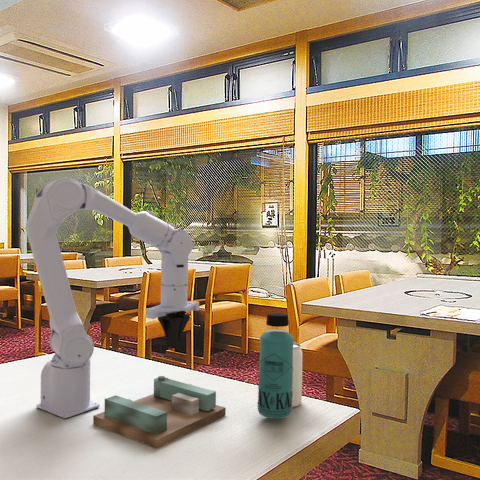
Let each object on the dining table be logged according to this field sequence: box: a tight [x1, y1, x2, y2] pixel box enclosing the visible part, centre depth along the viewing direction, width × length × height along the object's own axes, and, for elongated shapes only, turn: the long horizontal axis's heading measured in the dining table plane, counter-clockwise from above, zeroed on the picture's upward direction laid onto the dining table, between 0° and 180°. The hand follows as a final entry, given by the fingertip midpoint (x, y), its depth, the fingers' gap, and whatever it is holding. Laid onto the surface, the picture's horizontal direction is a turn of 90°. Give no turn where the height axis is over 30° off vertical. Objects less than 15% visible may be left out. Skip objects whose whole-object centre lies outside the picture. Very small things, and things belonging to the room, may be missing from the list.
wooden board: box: [92, 393, 227, 450], centre depth 92 cm, size 16×18×4 cm
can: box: [291, 341, 303, 409], centre depth 101 cm, size 6×6×12 cm
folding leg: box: [153, 375, 217, 411], centre depth 97 cm, size 14×3×4 cm, turn 54°
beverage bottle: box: [256, 312, 295, 419], centre depth 92 cm, size 6×7×20 cm
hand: (173, 347), depth 108 cm, fingers closed
